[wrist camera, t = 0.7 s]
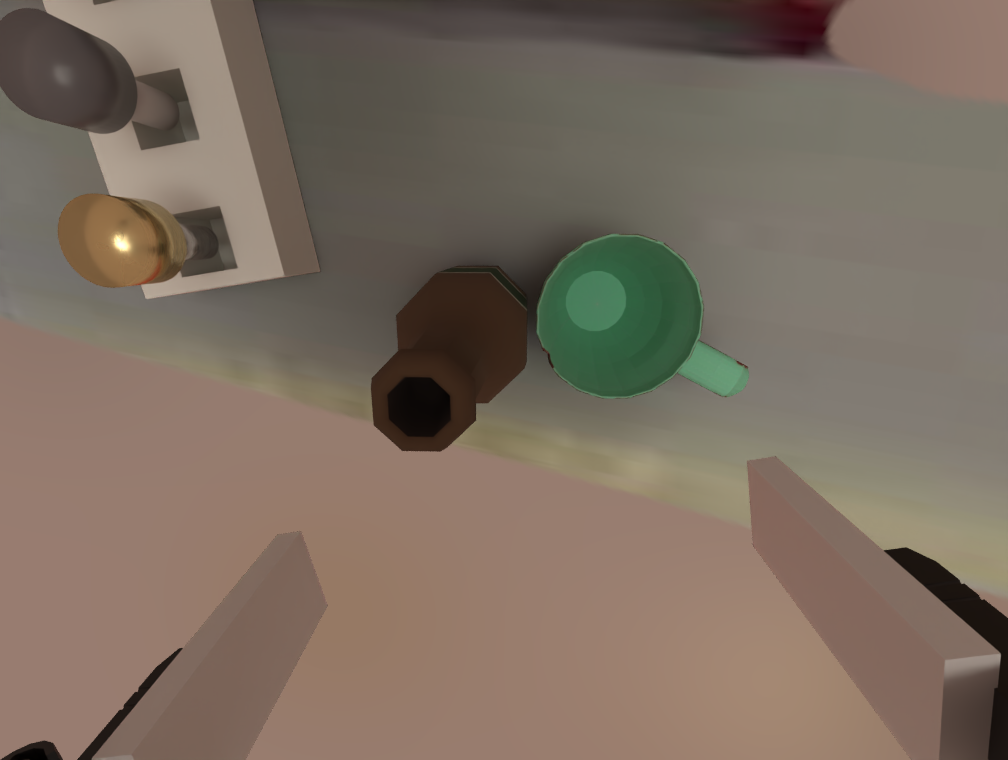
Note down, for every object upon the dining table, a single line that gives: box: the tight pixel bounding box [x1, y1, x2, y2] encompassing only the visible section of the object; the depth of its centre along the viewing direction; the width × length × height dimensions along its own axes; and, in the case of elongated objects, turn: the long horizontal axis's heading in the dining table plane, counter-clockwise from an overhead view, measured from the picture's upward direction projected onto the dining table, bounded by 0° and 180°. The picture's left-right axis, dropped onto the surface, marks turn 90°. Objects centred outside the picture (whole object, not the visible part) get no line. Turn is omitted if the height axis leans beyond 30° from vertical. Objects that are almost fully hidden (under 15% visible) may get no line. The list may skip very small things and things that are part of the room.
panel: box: [43, 0, 321, 299], centre depth 33 cm, size 22×10×6 cm, turn 9°
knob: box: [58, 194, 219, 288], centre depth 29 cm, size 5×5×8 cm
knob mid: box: [0, 8, 179, 134], centre depth 27 cm, size 5×5×8 cm
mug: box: [536, 234, 749, 399], centre depth 34 cm, size 15×10×10 cm
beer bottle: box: [371, 266, 527, 451], centre depth 27 cm, size 8×8×24 cm
